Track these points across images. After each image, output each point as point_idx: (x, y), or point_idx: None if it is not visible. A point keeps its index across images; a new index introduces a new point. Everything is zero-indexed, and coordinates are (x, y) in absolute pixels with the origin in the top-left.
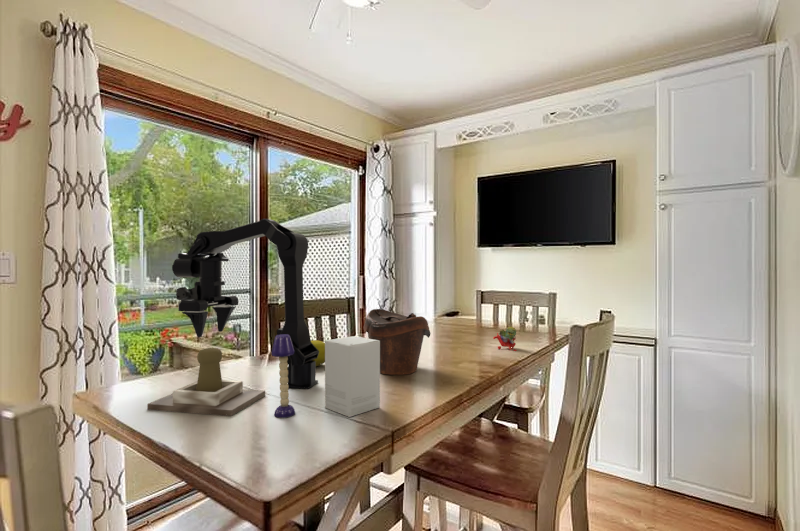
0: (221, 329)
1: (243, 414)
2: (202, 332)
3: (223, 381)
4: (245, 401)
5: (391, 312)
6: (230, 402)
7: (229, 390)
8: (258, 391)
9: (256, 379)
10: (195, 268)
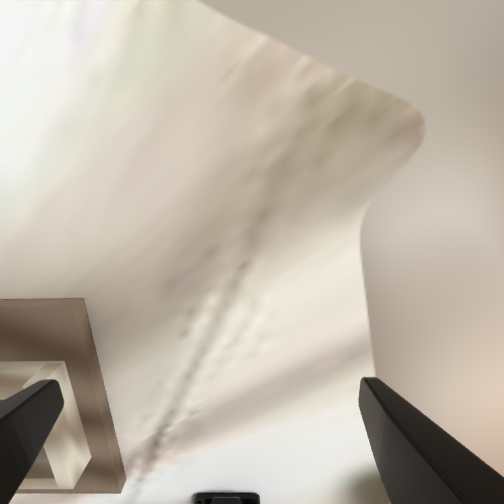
0: (365, 423)
1: None
2: (27, 456)
3: (45, 450)
4: (34, 491)
5: None
6: None
7: None
8: (107, 485)
9: (252, 403)
10: None
